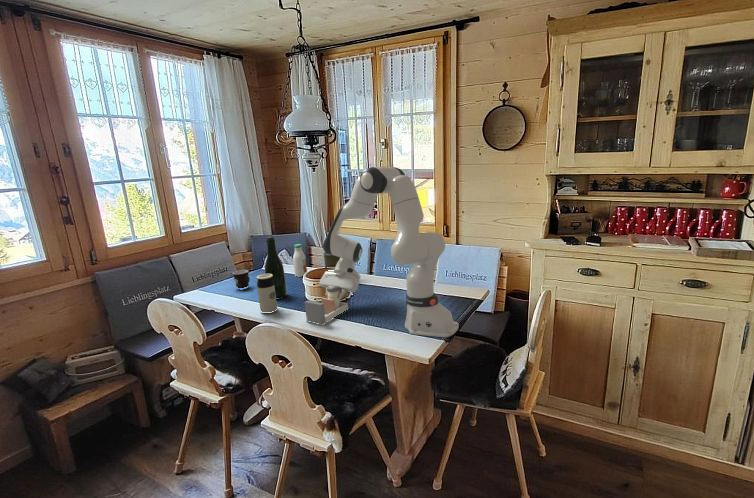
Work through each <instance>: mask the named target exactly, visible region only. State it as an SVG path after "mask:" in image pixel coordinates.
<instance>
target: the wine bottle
mask: <svg viewBox="0 0 754 498" xmlns="http://www.w3.org/2000/svg"><path fill="white" fill-rule="evenodd" d="M266 247H267V249H266V250H267V255H266V261H265V264H264V274H272V275H273V276H272V279H273V281H274V286H275V294H276V298H281V297H284V296H286V295H287V296H288V289H287V288H288V287H287V282H286V281H287V280H286V275H285V268H284V265H283V262H282V260H281V259H280V256H279V254H278V251H277V246H276V239H275V238H274V235H273V236H272V235H270V236H267V237H266ZM287 296H286V297H287ZM284 298H285V297H284Z"/></svg>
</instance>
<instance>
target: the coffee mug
mask: <svg viewBox="0 0 754 498" xmlns="http://www.w3.org/2000/svg"><path fill="white" fill-rule="evenodd" d="M232 274H233V275H232V276H233V279H234V283H235V285H236V288H237V287H238V288H244V287H247V286H250V285H249V283H250V282H251V281H250V280H251V279H250V276H249V270H248V269H240V270H235V271H233V272H232Z"/></svg>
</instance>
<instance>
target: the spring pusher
mask: <svg viewBox="0 0 754 498" xmlns="http://www.w3.org/2000/svg"><path fill="white" fill-rule="evenodd" d="M320 300H321V301H320V303H324V312H325V313H327V314H329V313H331V312H333V311H334V310H335V300H334V299H328V297H321V298H320Z"/></svg>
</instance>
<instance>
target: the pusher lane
mask: <svg viewBox="0 0 754 498" xmlns="http://www.w3.org/2000/svg"><path fill="white" fill-rule="evenodd" d="M340 306H341V307H339V308H338V309H336V310H334V311H333V312H331V313H329V314H327V313H325V312H324V303H322V302H318V301H312V300H306V301H304V309H305V319H306V322H307V321H311V322H315V323H319V324H324V323H326V322H327V321H329V320H331V319H332V318H334V317H336V316H337V315H339V314H341V313H342V314H344V313H345V312H347V311H349V310H348V309H350V307H349V303H348V302H343V301H340ZM346 310H347V311H346ZM344 311H345V312H344ZM343 312H344V313H343ZM342 314H341V315H342ZM339 316H340V315H339ZM337 317H338V316H337ZM337 317H336V318H337ZM334 319H335V318H334ZM331 321H332V320H331ZM329 322H330V321H329ZM326 324H327V323H326ZM324 325H325V324H324Z"/></svg>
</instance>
